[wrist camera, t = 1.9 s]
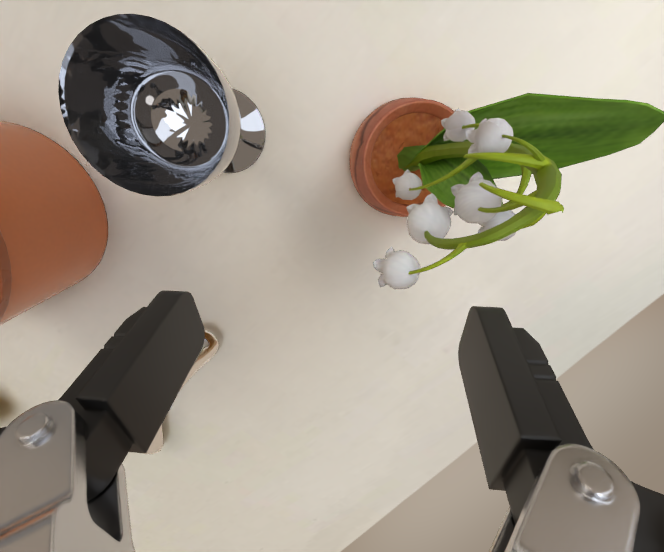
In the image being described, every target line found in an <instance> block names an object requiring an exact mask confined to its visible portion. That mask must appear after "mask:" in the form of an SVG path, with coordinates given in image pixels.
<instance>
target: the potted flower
mask: <svg viewBox="0 0 664 552" xmlns="http://www.w3.org/2000/svg"><path fill="white" fill-rule="evenodd" d="M663 122H664V112H663V111H661V110H660V109H658V108H656V107H654V106H652V105H650V104H648V103H642V102H635V101H629V100H614V99H596V98H583V97H570V96H558V95H545V94H533V93H527V94H524V95H520V96H517V97H514V98H510V99H507V100H504V101H500V102H497V103H494V104H490V105H487V106H484V107H480V108H477V109H474V110H470V111H463V110H461V111H460V110H459V108H458V109H457V110H456V111H455V112H454V111H453V110H452V109H451V108H449V107H448V106H446V105H444V104H442V103H439V102H436V101H433V100H426V99H420V98H401V99H397V100H393V101H390V102H388V103H386V104H383V105H382V106H380V107H378V108H377V109H375V110H374V111H373V112H372V113H371V114H370V115H369V116H368V117H367V118H366V119H365V120H364V121H363V123H362V124H361V126H360V127H359V129H358V131H357V132H356V135H355V137H354V139H353V142H352V146H351V150H350V172H351V177H352V180H353V183H354V186H355V187H356V189H357V191H358V193H359V194H360V196H361V197H362V198H363V199H364V201H366V202H367V203H368V204H369V205H370V206H371V207H373V208H374V209H376V210H378V211H380V212H382V213H385V214H389V215H393V216H401V217H408V218H407V227H408V231H409V235H410V236H411V237H412V238H413V240H415V241H417V242H418V243H424V244H432V245H434V246H435V247H437V248H442V249H455V250H454V251H452V252H451V253H450V254H449V255H447V256H446V257H444V258H443V259H441V260H440V261H438V262H436V263H434V264H432V265H429V266H427V267H424V268H421V269H420V264H419V262H418V260H417V259H416V258H415V257H414V256H413V255H412V254H410V253H409V252H407V251H401V250H400V251H394V249H393V248H392V247H390V248H389V249H388V250H387V252H386V256H385V257H386V258H387V259H377V260H375V261H374V262H373V265H374V268H375V269H376V270H377V271H379V272H381V273H383V274H381V275H380V277H379V279H378V283H379V285H380V287H383V286H385V285H389V286H390V287H392V288H394V289H406V288H409V287H411V286H412V285H414V284H415V283H416V281H417V280H418V277H419V274H420V272H423V271H427V270H430V269H432V268H435V267H437V266H439V265H441V264H443V263H445V262H447V261H449V260H451V259H452V258H454V257H455V256H457V255H458V254H460V253H461V252H462V251H463V250H465V249H466V248H472V247H477V246H482V245H486V244H490V243H493V242H495V241H505V240H507V239H509V238H511V237H512V236H513V235H514V234H515V233H516V231H518V230H520V229H522V228H526V227H529V226H532V225H534V224H536V223H537V222H538V221H539V220H540V219H542V218H543V216H544V215H545V214H546V213H547V214H551V213H555V212H558V211H562V213H563V210H564V207H563V206H562V205H561V204H560V203H559V202H557V201H556V199H557V197H558V195H559V193H560V189H561V176H562V174H561V173H560V171H559V168H563V167H566V166H570V165H574V164H577V163H581V162H584V161H588V160H592V159H595V158H599V157H603V156H606V155H610V154H613V153H615V152H618V151H621V150H624V149H626V148H629V147H632V146H635V145H637V144H640V143H641V142H642V141H643V140H645V139H646V138H647V137H648V136H650V135H651V134H652V133H653V132H654V131H655V130H656V129H657V128H658V127H659V126H660V125H661V124H662V123H663ZM531 174H533V175H534V178H535V181H536V184H537V190H536V191H534V192H532V193H531V194H529V195H528V196H526V195H522V194H523V193H524V191H525V189H526V187H527V185H528V183H529V180H530V177H531ZM520 175H522V178H521V183H520V186H519V189H518V191H517V193H513V192H509V191H506V190H502V189H499V188H497V187H496V185H495V183H494V181H493V179H497V178H505V177H512V176H520ZM502 198H504V199H507V200H510V201H509V202H507V203H505V204H503V202H502ZM502 204H503V205H502ZM446 205H447V206H449V207H452V208H454V215H458V216H459V217H460V218H461V219H462V220H464V221H466V222H467V223H478V224H479V225H481V226H483V227H481V228H480V229H479V231H478V234H475V235H471V236H467V237H462V238H454V239H444V237H445V235H446V234H447V232H448V230H449V229H450V226H451V218H450V216H451V215H452V213H453V211H452V210H451V209H450V208H448V207H444V206H446ZM523 205H524V206H527V207H525V208H524V209H523V210H522V211H520V212H519V213H517V214H516V215H515V214H514V213H513V212H512V211H511V210H512V209H515V208H518V207H521V206H523Z"/></svg>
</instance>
